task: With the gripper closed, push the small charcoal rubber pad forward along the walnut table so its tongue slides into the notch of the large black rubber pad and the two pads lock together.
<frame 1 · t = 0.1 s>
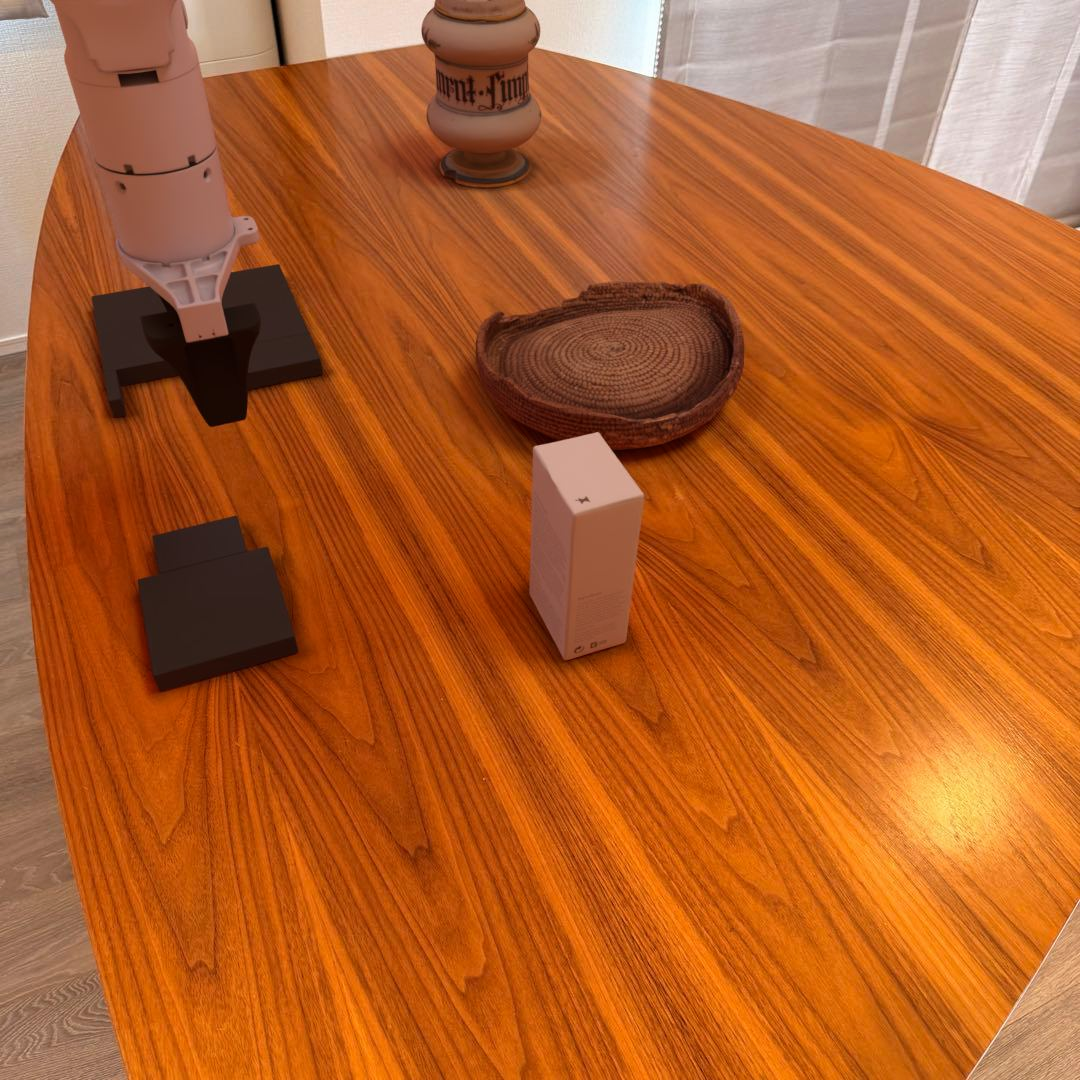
hand: (215, 382, 57), 12 cm above the table, tool pointing down, fingers open, 7 cm apart
small pad: (219, 624, 59), on the table
big pad: (202, 330, 82), on the table
apothecary jar: (484, 170, 106), on the table
cosmetic box: (576, 620, 60), on the table
basket: (612, 382, 78), on the table
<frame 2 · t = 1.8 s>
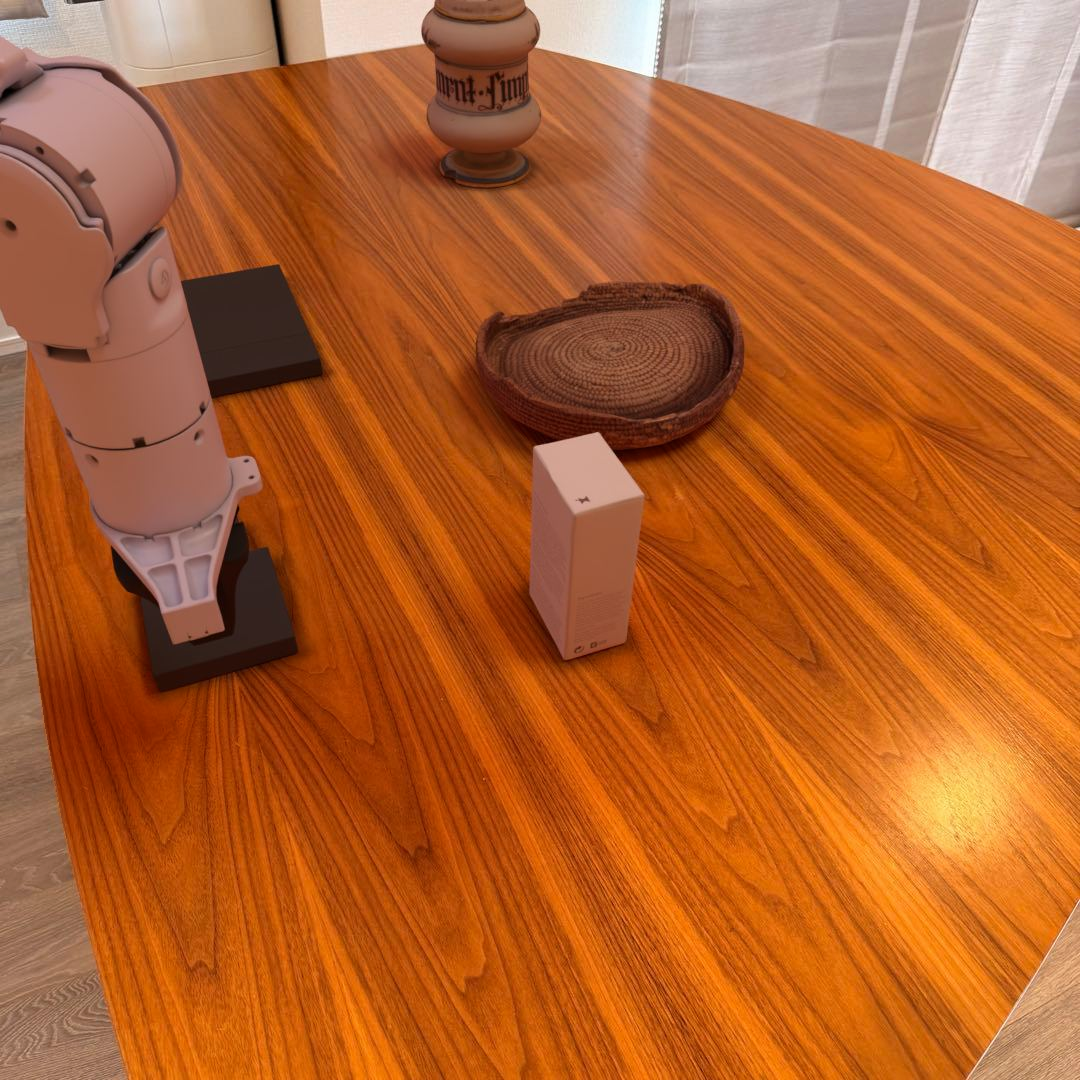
hand: (210, 627, 48), 8 cm above the table, tool pointing down, fingers closed
nothing on the table moved.
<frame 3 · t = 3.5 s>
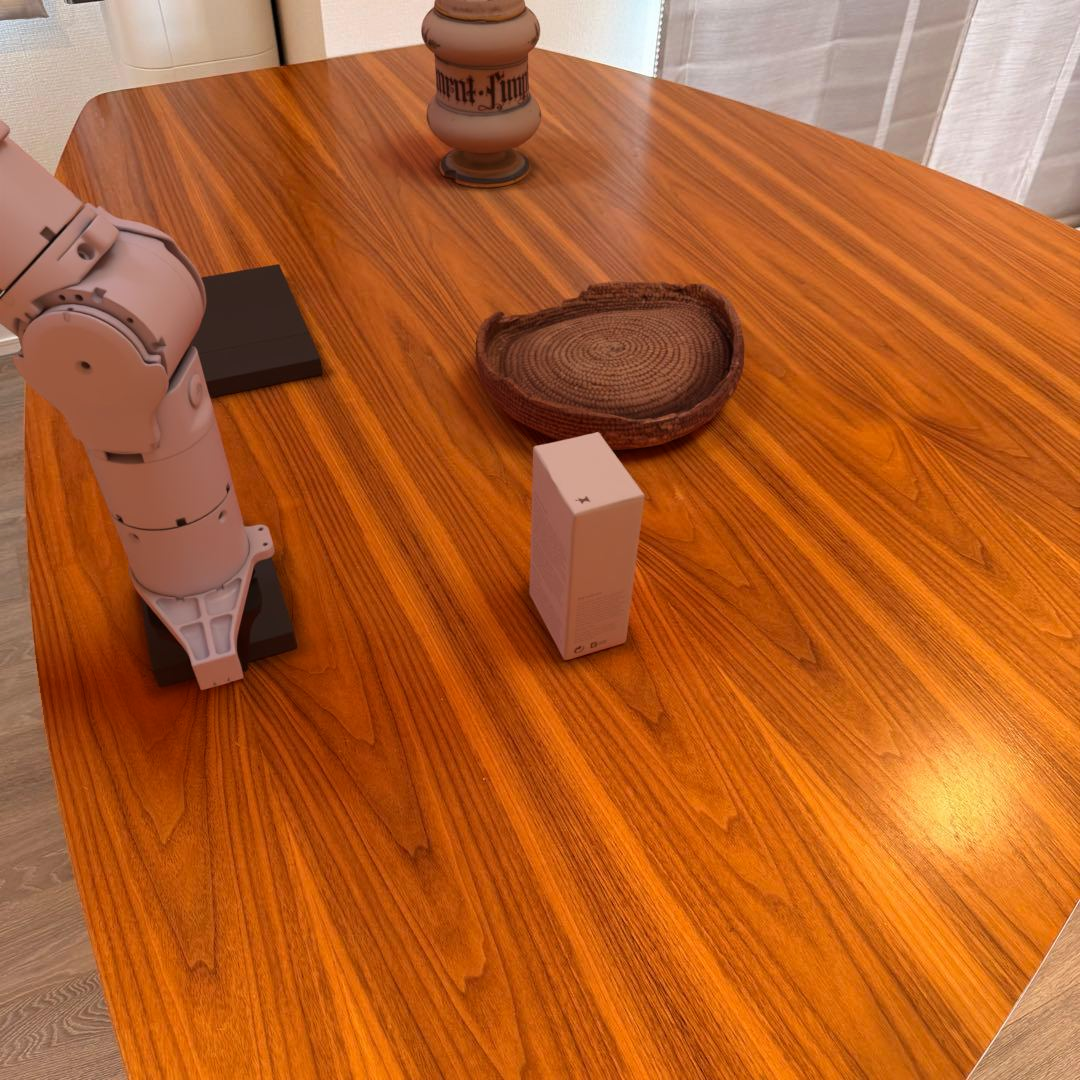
hand: (228, 667, 56), 1 cm above the table, tool pointing down, fingers closed
small pad: (218, 619, 60), on the table, touching gripper
everything else where it was.
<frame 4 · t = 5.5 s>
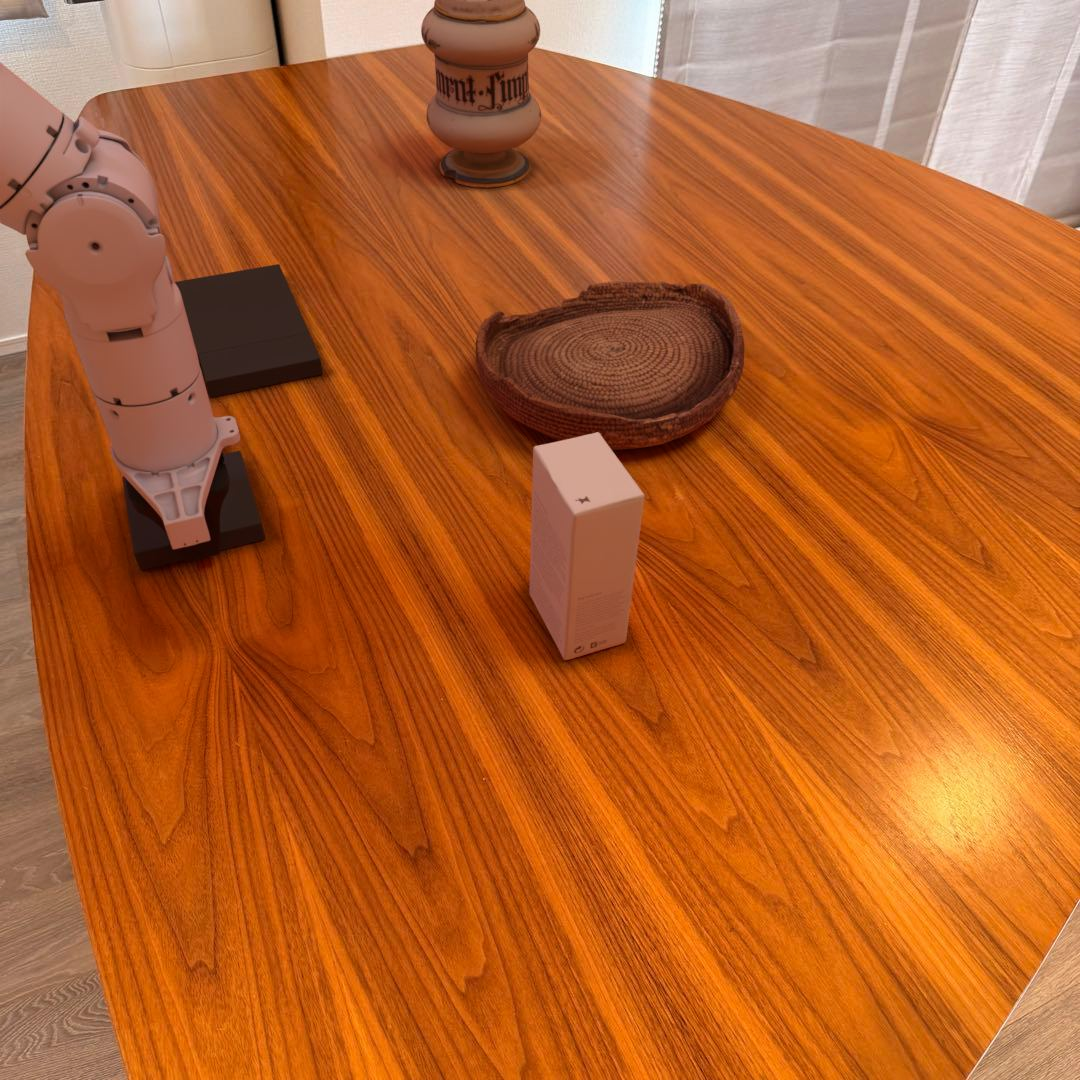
hand: (202, 552, 62), 1 cm above the table, tool pointing down, fingers closed
small pad: (195, 516, 66), on the table, touching gripper
everything else where it was.
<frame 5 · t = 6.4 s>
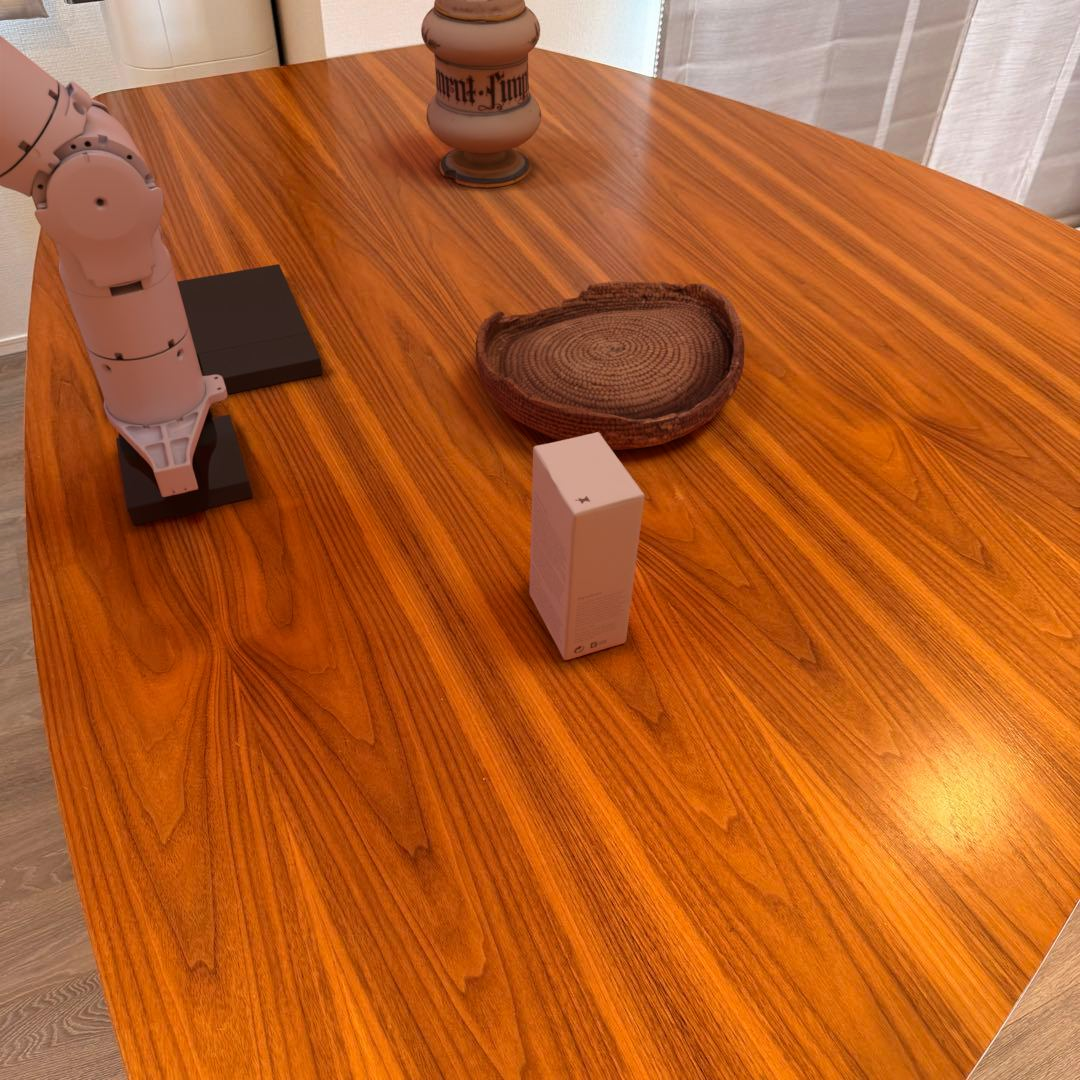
hand: (191, 507, 65), 1 cm above the table, tool pointing down, fingers closed
small pad: (186, 476, 69), on the table, touching gripper
everything else where it was.
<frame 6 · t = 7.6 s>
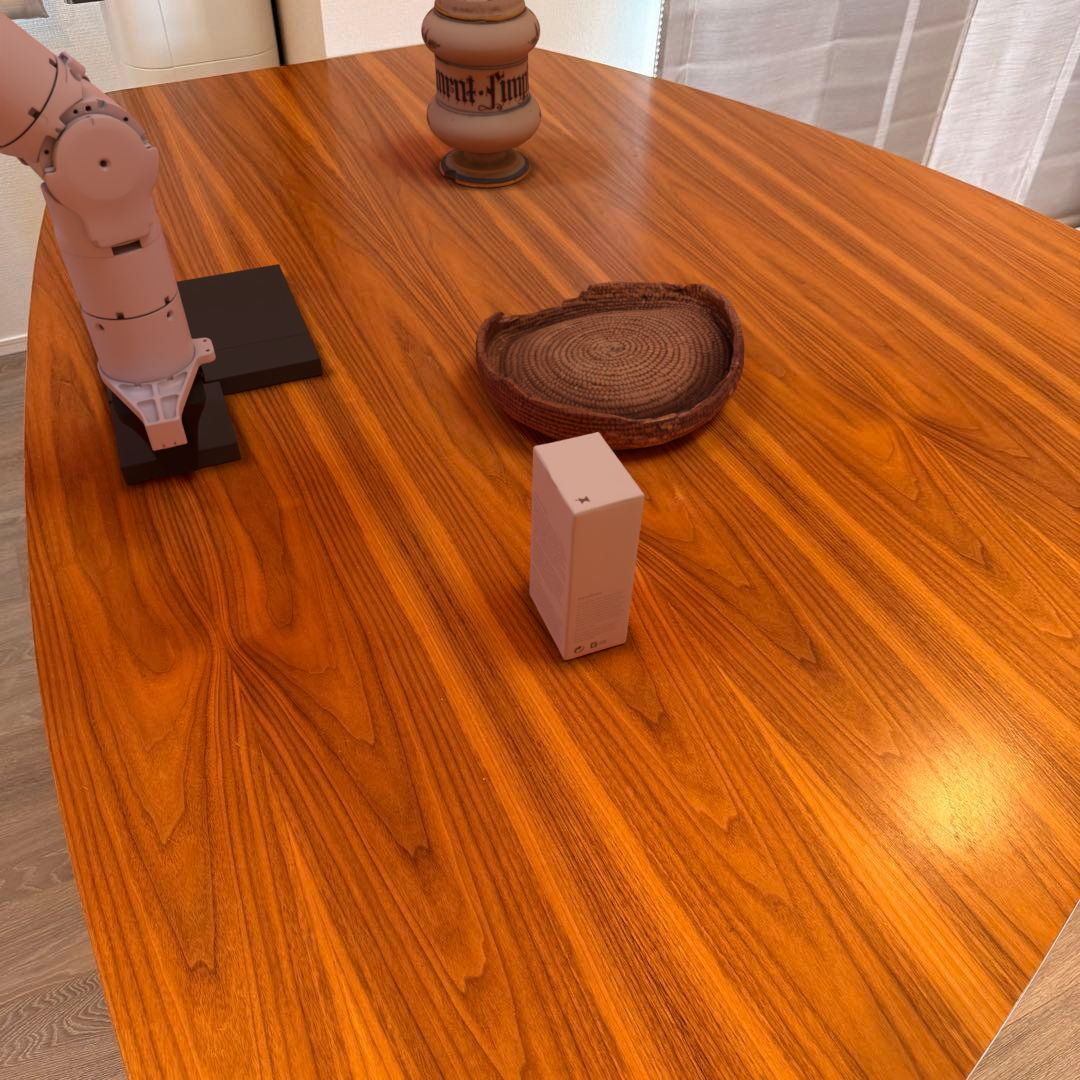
hand: (182, 467, 68), 1 cm above the table, tool pointing down, fingers closed
small pad: (177, 439, 72), on the table, touching gripper
everything else where it was.
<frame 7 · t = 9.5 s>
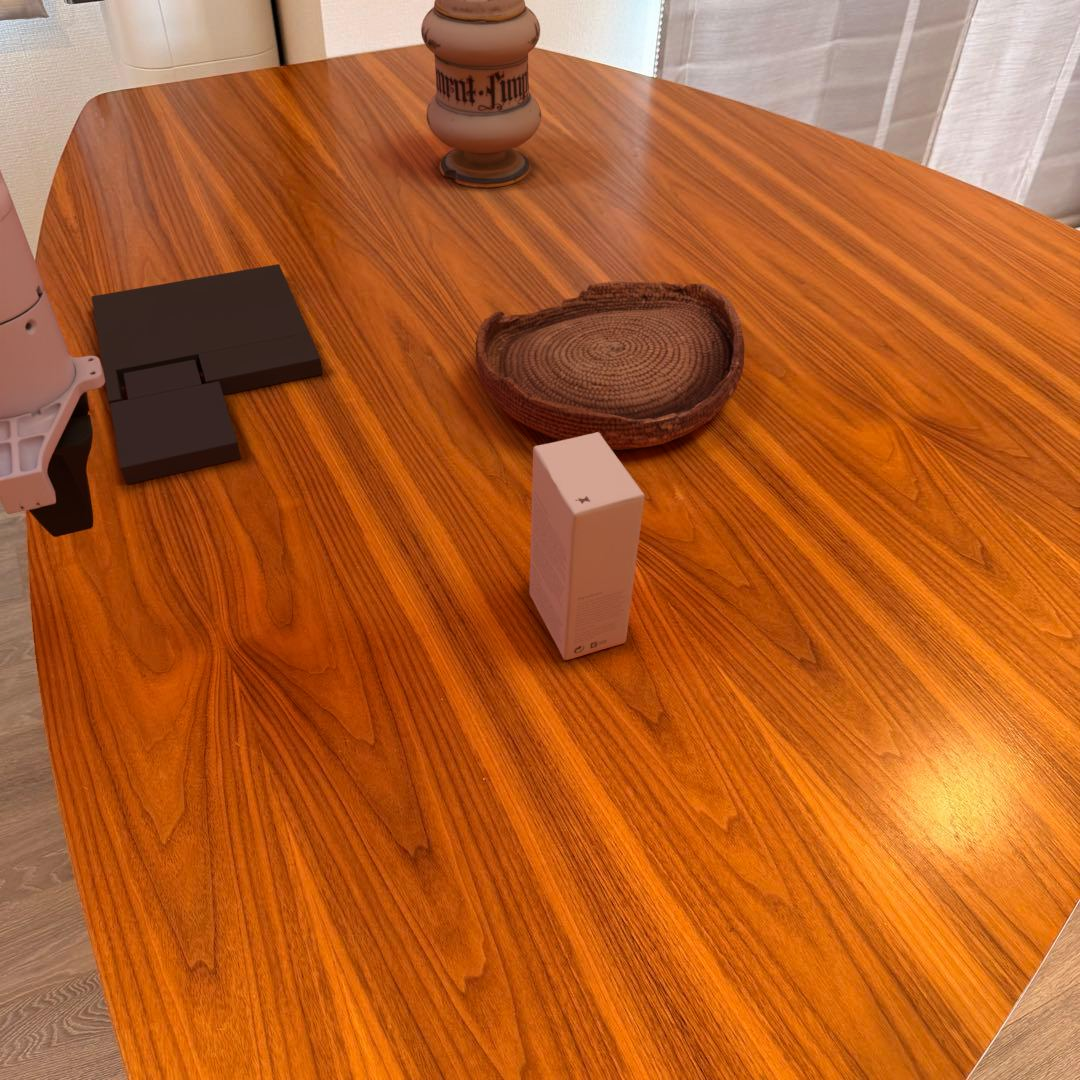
hand: (72, 524, 52), 9 cm above the table, tool pointing down, fingers closed
small pad: (177, 439, 72), on the table
everything else where it was.
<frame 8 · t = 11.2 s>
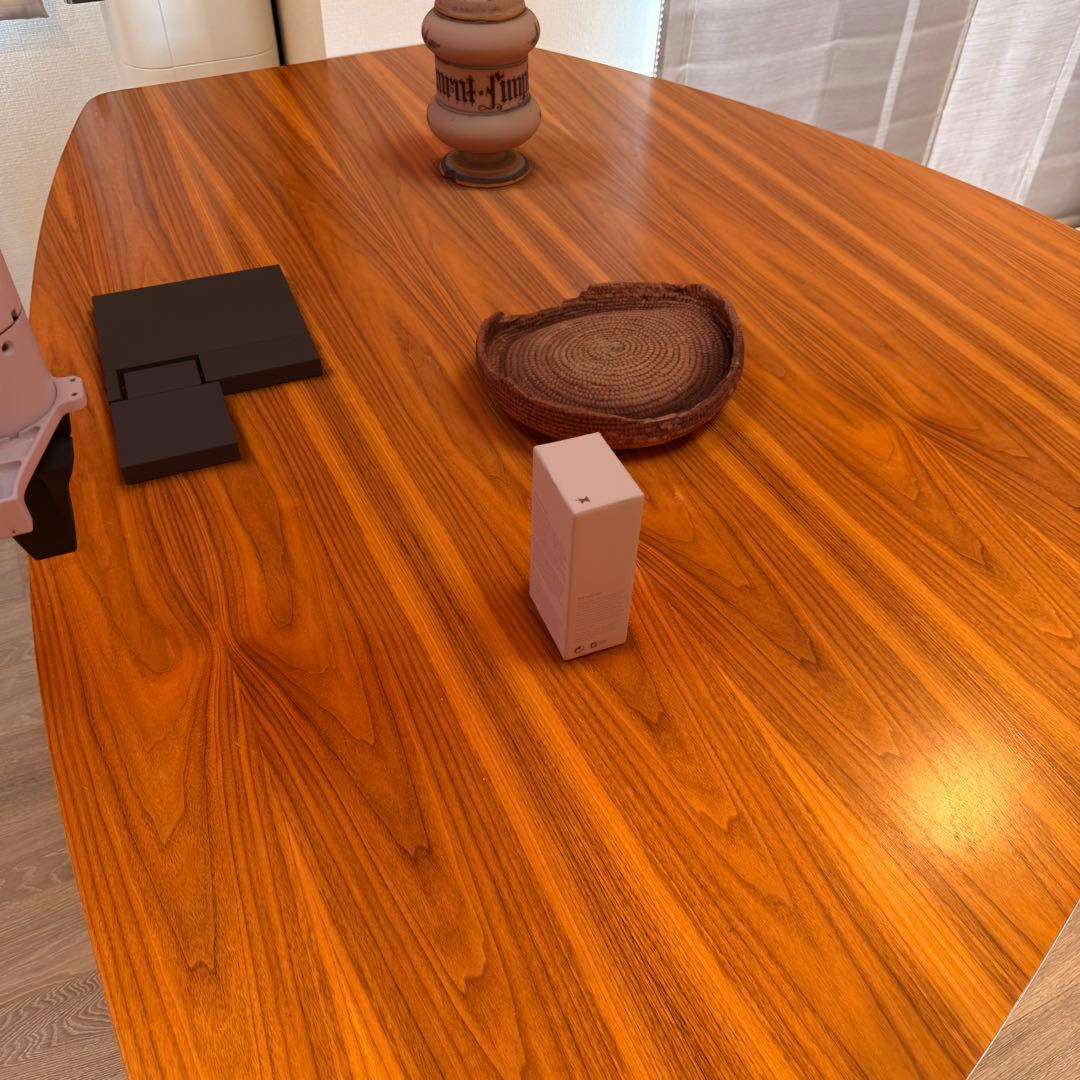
hand: (55, 547, 50), 9 cm above the table, tool pointing down, fingers closed
nothing on the table moved.
at the end: small pad 0.3 cm from the target spot on the table beside the big pad, on the table; small pad moved 19.2 cm from its start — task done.
